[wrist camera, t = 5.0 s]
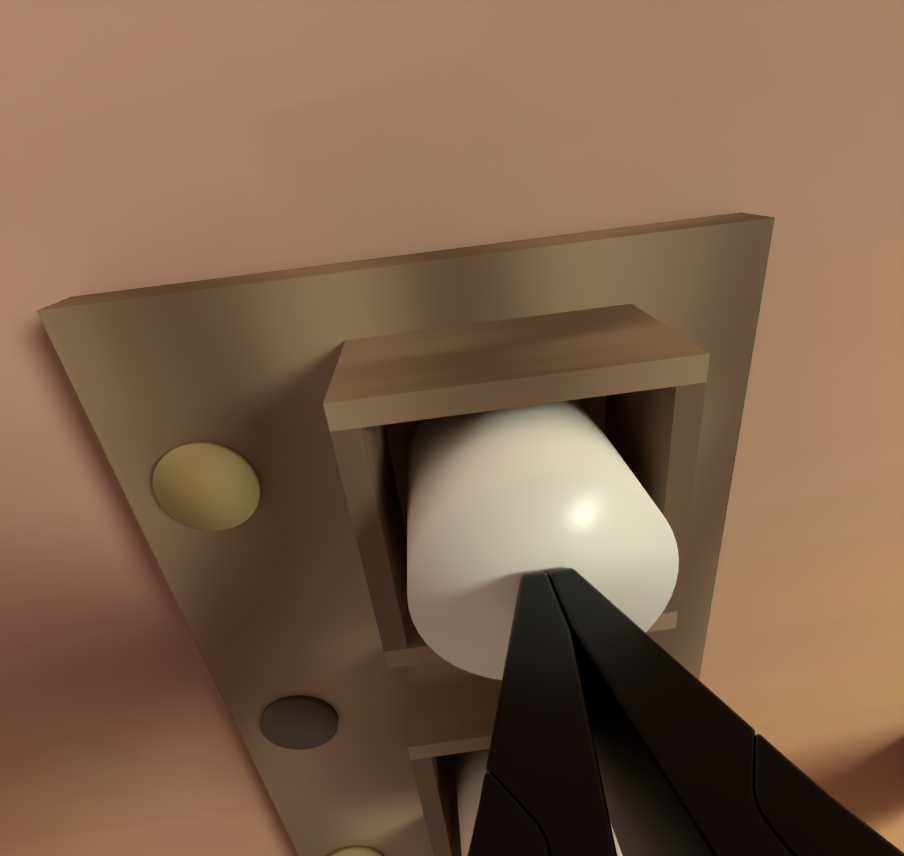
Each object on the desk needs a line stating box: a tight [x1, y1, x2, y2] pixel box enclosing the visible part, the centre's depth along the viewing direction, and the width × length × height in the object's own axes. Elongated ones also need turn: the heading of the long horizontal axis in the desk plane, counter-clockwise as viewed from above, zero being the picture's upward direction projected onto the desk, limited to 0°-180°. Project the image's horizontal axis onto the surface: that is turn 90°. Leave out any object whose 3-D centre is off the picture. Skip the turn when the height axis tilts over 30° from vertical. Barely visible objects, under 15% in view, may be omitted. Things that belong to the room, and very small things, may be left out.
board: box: [37, 213, 774, 856], centre depth 16 cm, size 15×27×4 cm, turn 6°
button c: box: [407, 399, 679, 680], centre depth 10 cm, size 4×4×4 cm
